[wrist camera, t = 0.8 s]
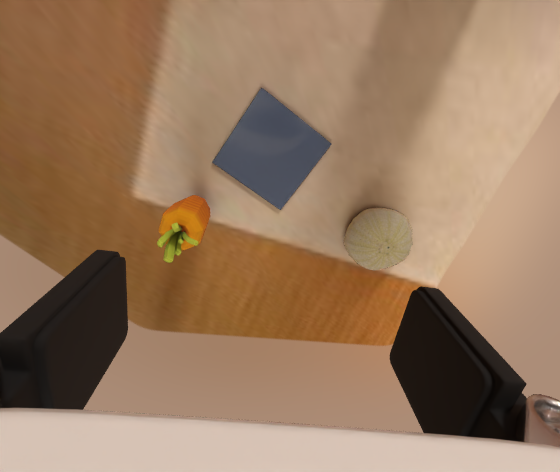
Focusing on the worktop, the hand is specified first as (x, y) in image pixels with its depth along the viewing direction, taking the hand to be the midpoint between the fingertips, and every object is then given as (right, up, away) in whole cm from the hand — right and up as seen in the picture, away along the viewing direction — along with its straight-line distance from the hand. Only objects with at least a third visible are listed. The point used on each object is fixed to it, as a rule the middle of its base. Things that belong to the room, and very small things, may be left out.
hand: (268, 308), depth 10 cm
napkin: (-1, +13, +31) cm, 34 cm away
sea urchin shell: (+14, +3, +36) cm, 39 cm away
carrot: (-11, +7, +34) cm, 36 cm away
